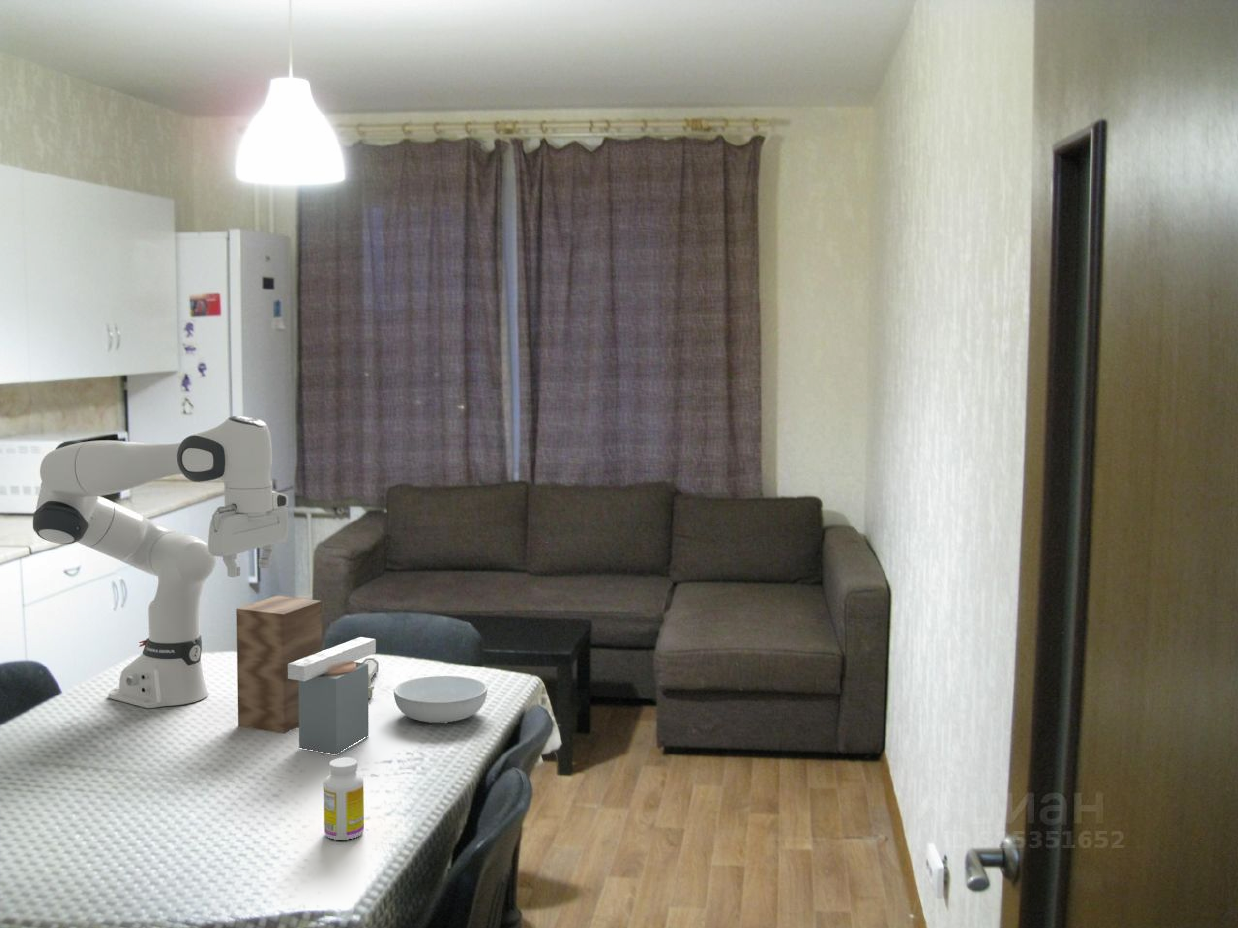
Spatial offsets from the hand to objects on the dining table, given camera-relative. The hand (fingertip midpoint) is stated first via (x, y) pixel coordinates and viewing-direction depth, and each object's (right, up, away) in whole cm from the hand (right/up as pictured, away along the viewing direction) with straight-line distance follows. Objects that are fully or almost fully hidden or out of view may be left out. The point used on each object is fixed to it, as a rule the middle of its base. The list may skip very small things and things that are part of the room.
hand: (249, 571), depth 231 cm
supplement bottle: (+24, -43, -26) cm, 56 cm away
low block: (+12, -38, +19) cm, 44 cm away
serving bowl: (+31, -36, +37) cm, 61 cm away
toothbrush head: (+10, -34, +60) cm, 69 cm away
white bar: (+12, -21, +17) cm, 29 cm away
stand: (-3, -36, +33) cm, 48 cm away
